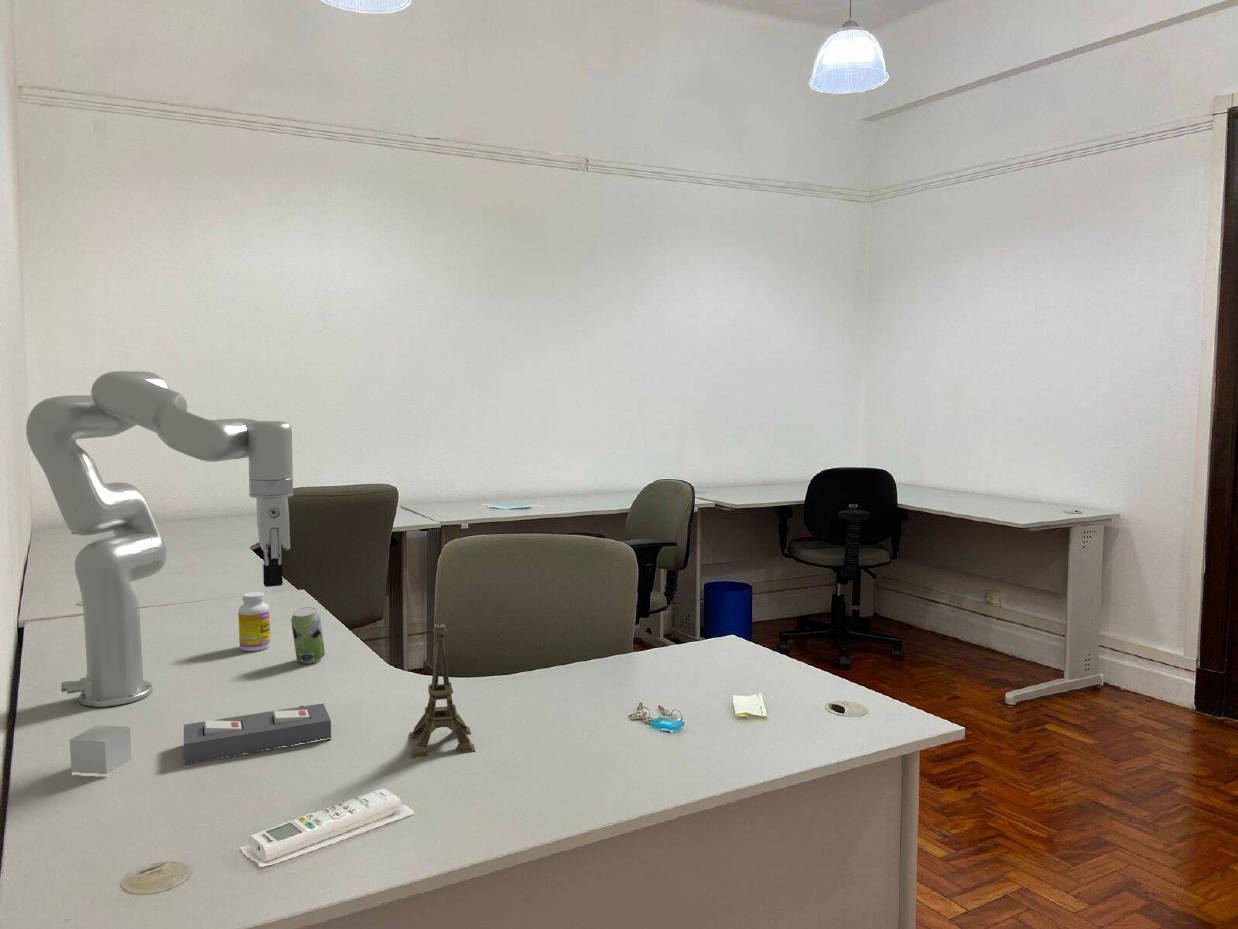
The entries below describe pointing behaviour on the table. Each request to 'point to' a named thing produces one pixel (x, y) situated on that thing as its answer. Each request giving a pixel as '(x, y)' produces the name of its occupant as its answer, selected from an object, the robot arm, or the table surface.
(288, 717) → the right rocker
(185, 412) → the robot arm
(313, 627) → the beverage can
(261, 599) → the supplement bottle
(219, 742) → the rocker switch panel
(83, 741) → the pale grey cube
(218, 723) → the left rocker
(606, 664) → the table surface
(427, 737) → the eiffel tower
